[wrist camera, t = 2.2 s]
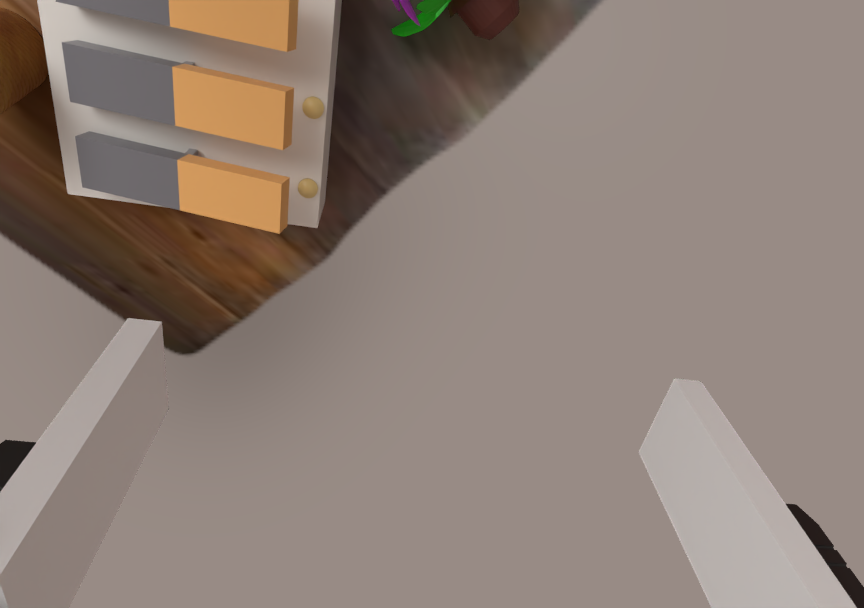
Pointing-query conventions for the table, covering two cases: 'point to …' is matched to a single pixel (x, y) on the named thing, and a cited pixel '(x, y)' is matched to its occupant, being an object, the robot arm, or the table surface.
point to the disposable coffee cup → (19, 59)
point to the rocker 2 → (183, 181)
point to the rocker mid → (179, 94)
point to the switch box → (298, 68)
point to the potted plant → (475, 3)
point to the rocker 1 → (213, 17)
